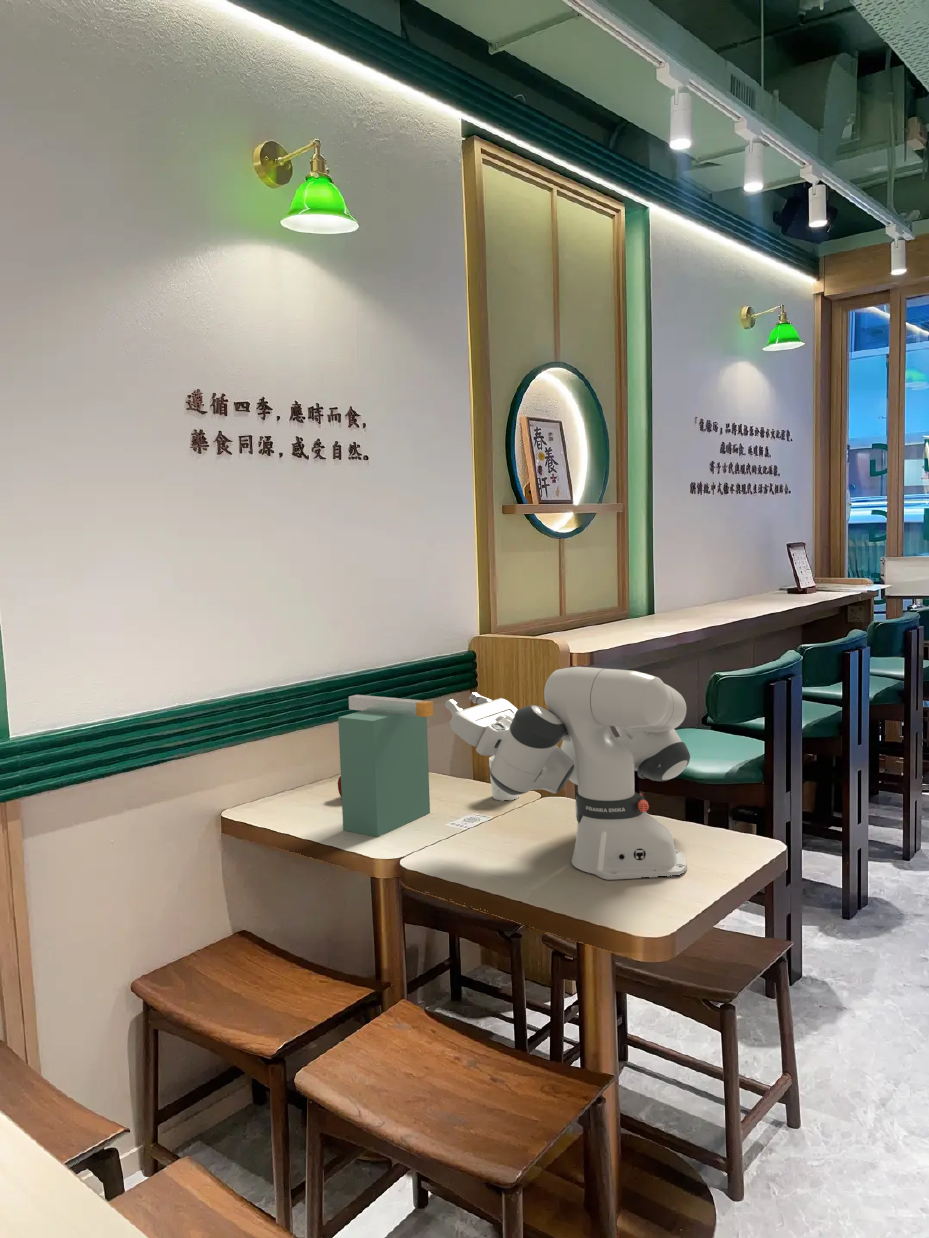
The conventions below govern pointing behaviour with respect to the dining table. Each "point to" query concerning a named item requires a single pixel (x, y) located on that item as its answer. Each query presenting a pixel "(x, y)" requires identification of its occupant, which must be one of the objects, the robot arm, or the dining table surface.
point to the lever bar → (391, 705)
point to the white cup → (498, 792)
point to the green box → (383, 771)
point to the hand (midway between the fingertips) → (459, 698)
